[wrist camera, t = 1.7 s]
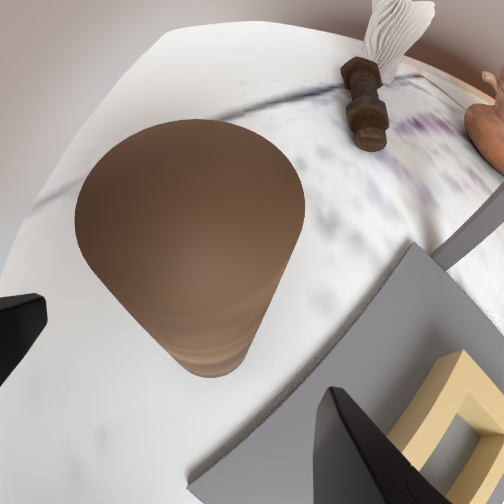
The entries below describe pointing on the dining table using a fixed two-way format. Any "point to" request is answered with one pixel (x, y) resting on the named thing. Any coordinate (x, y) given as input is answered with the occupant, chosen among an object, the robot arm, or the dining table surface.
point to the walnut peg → (192, 235)
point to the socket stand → (395, 388)
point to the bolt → (365, 104)
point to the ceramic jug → (489, 124)
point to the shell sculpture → (394, 32)
